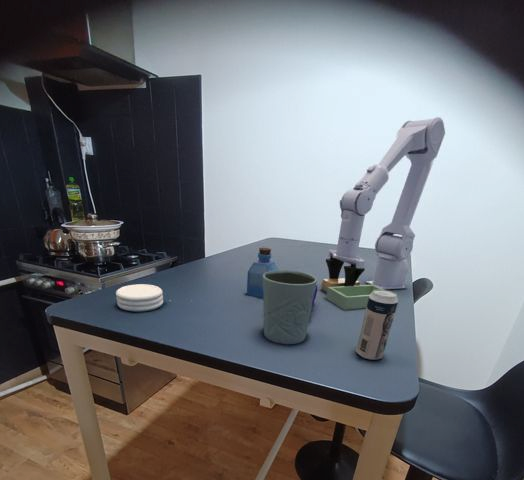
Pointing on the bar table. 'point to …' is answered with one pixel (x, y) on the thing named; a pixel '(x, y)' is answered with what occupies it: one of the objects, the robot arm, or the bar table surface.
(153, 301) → the coaster
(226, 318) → the bar table surface
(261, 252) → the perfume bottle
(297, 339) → the green embossed cup
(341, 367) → the bar table surface
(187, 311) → the bar table surface
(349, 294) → the eraser holder
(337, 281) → the eraser
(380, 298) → the beer can
